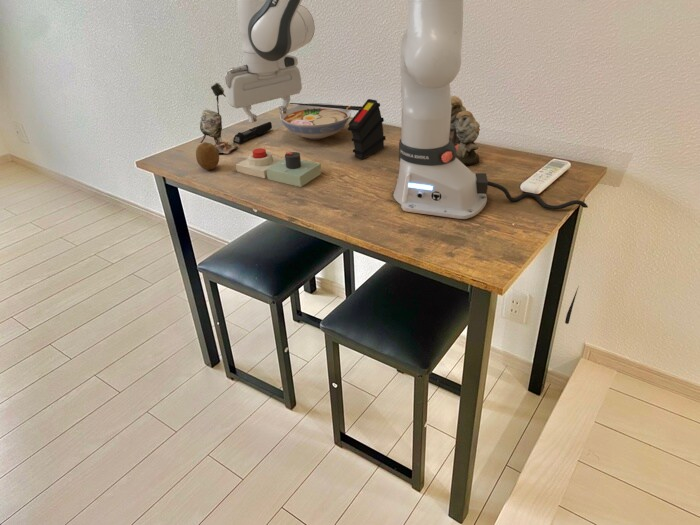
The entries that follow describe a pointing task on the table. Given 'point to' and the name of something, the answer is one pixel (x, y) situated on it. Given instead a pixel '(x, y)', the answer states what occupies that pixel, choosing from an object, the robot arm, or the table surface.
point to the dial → (292, 160)
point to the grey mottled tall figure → (214, 124)
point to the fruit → (207, 156)
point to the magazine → (367, 130)
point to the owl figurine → (463, 132)
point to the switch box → (257, 165)
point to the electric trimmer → (252, 133)
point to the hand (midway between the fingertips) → (268, 117)
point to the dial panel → (294, 173)
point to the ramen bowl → (316, 119)
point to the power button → (259, 153)
